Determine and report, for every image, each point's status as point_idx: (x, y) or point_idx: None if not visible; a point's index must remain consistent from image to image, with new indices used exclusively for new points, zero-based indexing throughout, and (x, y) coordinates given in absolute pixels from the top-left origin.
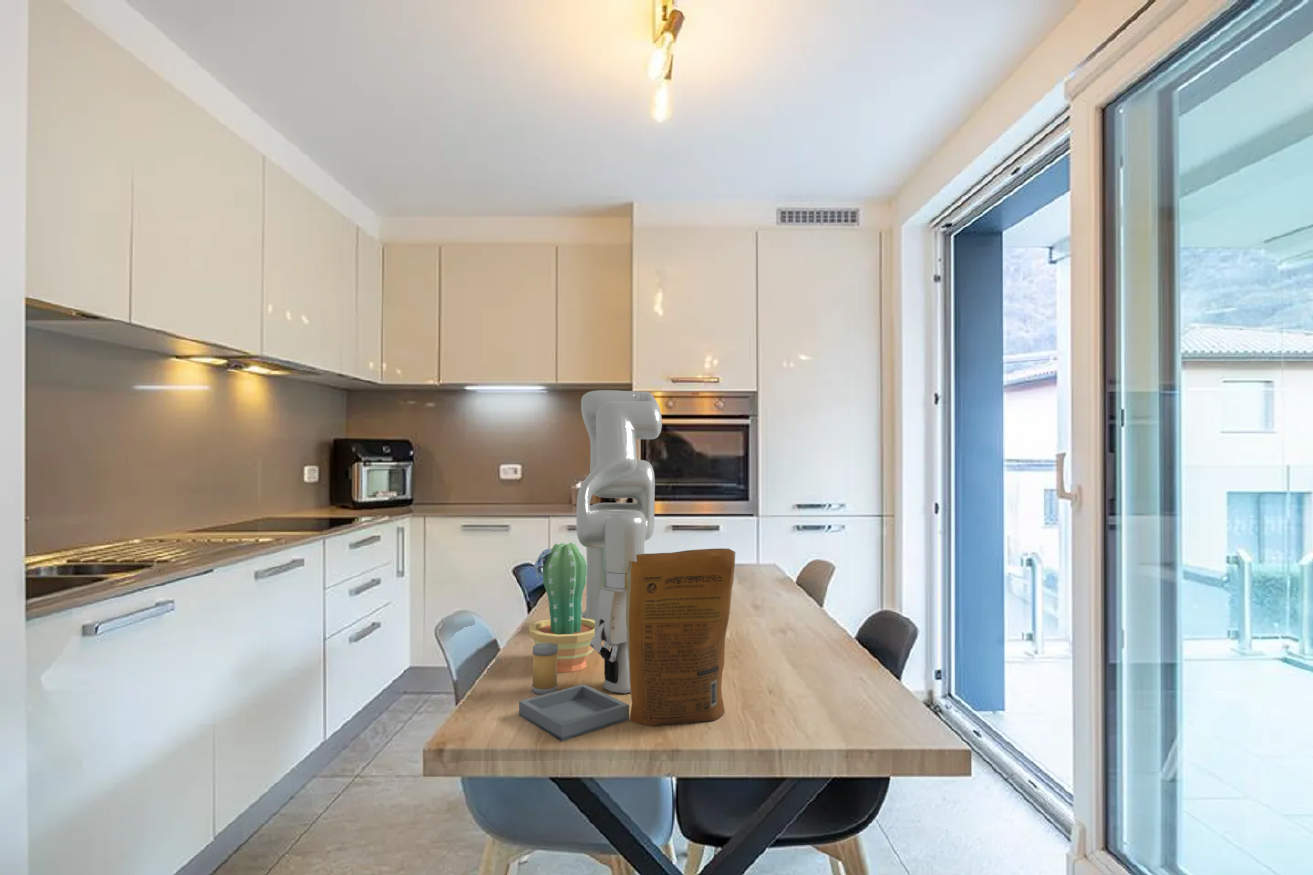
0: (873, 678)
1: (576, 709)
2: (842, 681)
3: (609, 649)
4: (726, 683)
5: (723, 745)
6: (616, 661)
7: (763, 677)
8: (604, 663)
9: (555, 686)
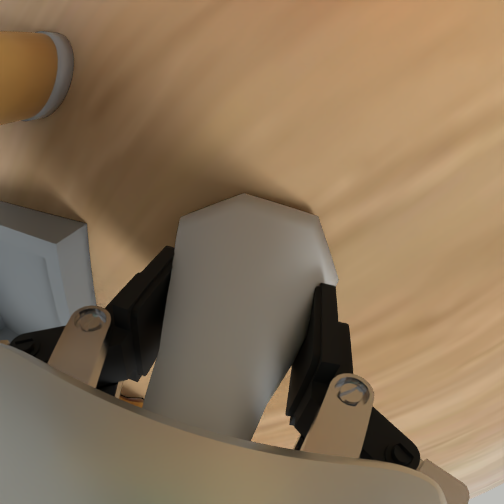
0: (494, 484)
1: (35, 283)
2: (481, 482)
3: (100, 368)
4: (440, 436)
5: None
6: (131, 379)
7: (488, 445)
8: (107, 305)
9: (39, 111)
